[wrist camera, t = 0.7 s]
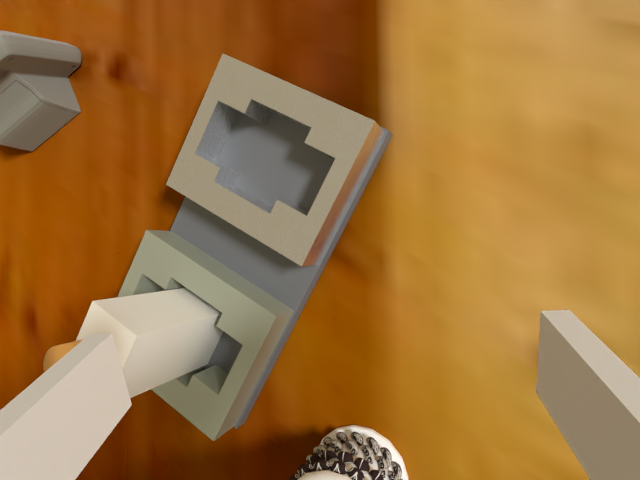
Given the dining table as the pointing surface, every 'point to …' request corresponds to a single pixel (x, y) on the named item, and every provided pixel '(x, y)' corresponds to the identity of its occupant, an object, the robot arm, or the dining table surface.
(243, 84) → the socket
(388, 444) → the decorative candle
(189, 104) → the dining table surface
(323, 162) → the board
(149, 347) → the plug
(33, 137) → the digital clock
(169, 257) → the grey-green cross cutout frame
